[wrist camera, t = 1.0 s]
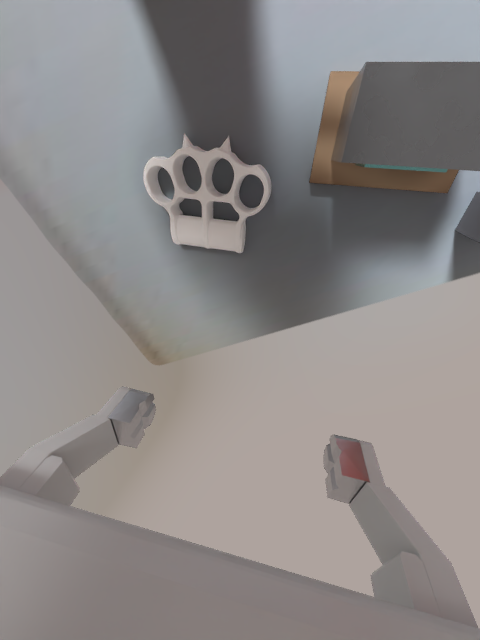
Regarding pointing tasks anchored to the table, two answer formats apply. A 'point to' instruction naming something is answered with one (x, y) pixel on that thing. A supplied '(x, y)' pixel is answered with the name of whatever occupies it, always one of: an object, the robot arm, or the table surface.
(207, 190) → the white brass knuckles
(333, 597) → the robot arm
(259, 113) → the table surface
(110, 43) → the table surface
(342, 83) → the board
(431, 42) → the table surface
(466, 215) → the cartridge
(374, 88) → the panel
